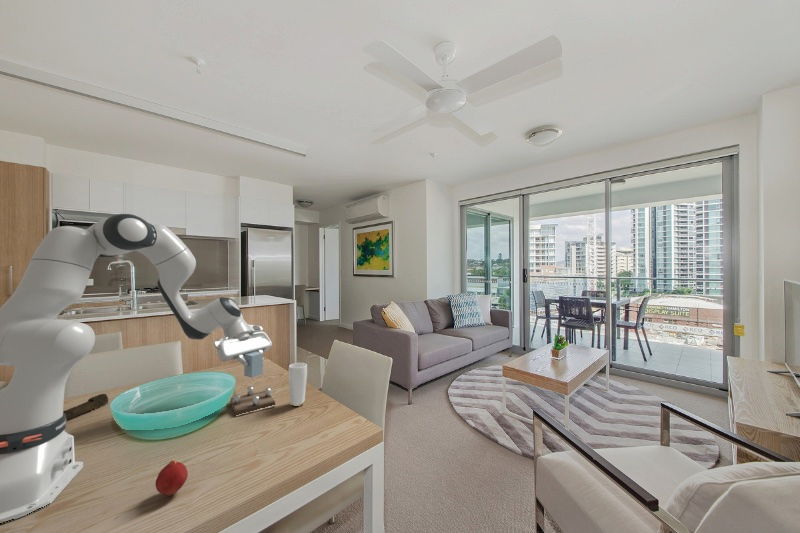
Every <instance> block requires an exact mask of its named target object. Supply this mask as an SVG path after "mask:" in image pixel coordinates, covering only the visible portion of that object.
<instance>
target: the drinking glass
mask: <svg viewBox="0 0 800 533" xmlns="http://www.w3.org/2000/svg"><path fill="white" fill-rule="evenodd" d="M307 378H308V364H307V363H305V362H295V363H291V364H289V366H288V386H289V388H288V390H289V405H290V404H292V405H299V404H302V403H303V402H304V401H305V400H306V390H307V389H306V388H307V380H308V379H307Z"/></svg>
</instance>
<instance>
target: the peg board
mask: <svg viewBox="0 0 800 533" xmlns="http://www.w3.org/2000/svg"><path fill="white" fill-rule="evenodd" d="M246 390H247V394H245V395H241V394H239V393H237V394H234V395H233V397H231V398H230V404H231V403H232V405H231V407H232V406H233V407H232V409H233V408H234V410H233V412H234V411H235V412H234V414H235V413H236V415H239V414H242V413H246V412H250V411H254V410H257V409H260V408H265V407H268V406H272V405H275V406H276V400H274V398H273V397H272V388H271V387H266V388H265V390H263V391H258V392H254V386H247V389H246ZM236 415H235V416H236Z"/></svg>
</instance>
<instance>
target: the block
mask: <svg viewBox="0 0 800 533" xmlns="http://www.w3.org/2000/svg"><path fill="white" fill-rule="evenodd" d="M263 358H264V352H263V353H259V352H252V353H248V354H245V357H244V359H245V360H249V362H250V365H249V366H247V367H244V366H243V370H244V372H243V373H244V374H243V375H244V377H248V378H252V379H253V378H255V377H258V376H261V375H263V374H264V373H263V372H264V371H263V369H264V368H263V366H264V363H263V362H264V361H263Z"/></svg>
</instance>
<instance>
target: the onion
mask: <svg viewBox="0 0 800 533" xmlns="http://www.w3.org/2000/svg"><path fill="white" fill-rule="evenodd" d="M188 473H189V472H188V469H187V466H186V465H185V464H183V463H181V462H180V461H176V459H175V458H174V459H171V461H170V462H168V463H167V464H166V465H165V466H164V467H163V468H162V469H161V470H160V472H158V475H157V478H156V480H155V485H154V486H155V489H156V491H157V492H158V493H159V494H162V495H165V496H170V495H172V496H174V495H175V494H176V493H177V492H178V491H179V490H180V489H181V488H182V487H183V486H184V484H185V482H186V481H187V480H188V475H189V474H188ZM173 494H174V495H173ZM170 497H171V496H170Z"/></svg>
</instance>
